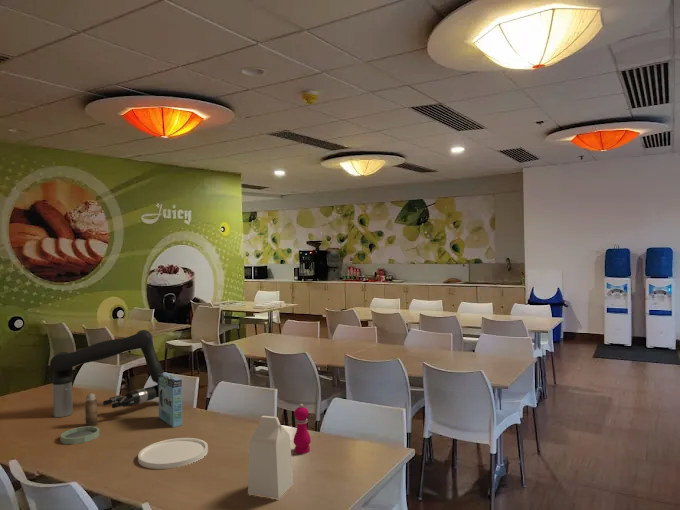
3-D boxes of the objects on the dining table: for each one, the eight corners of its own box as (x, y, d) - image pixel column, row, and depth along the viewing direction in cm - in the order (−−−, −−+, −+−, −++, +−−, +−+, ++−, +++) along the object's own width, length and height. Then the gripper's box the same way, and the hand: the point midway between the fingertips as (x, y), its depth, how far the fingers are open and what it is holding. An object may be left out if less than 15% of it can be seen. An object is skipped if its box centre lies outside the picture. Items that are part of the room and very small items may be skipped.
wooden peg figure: (83, 425, 255) (82, 393, 255) (94, 422, 259) (93, 391, 259) (89, 427, 252) (88, 395, 251) (99, 424, 256) (98, 392, 256)
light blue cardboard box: (158, 418, 263) (157, 374, 263) (168, 416, 266) (167, 372, 266) (173, 427, 248) (171, 380, 248) (183, 425, 251) (182, 379, 251)
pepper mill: (313, 448, 217) (312, 401, 217) (307, 455, 211) (305, 406, 210) (298, 446, 220) (296, 400, 220) (291, 453, 213) (289, 405, 213)
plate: (137, 450, 222) (136, 444, 222) (202, 439, 233) (202, 433, 233) (139, 475, 196) (139, 469, 196) (213, 461, 207) (212, 455, 207)
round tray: (54, 439, 236) (54, 434, 236) (88, 429, 249) (88, 424, 249) (71, 446, 227) (71, 441, 227) (105, 435, 239) (105, 430, 239)
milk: (247, 495, 177) (245, 420, 177) (264, 480, 188) (262, 410, 188) (278, 500, 173) (276, 424, 173) (293, 485, 184) (291, 413, 183)
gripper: (129, 388, 279) (100, 395, 266) (144, 392, 271) (115, 399, 258) (129, 401, 279) (100, 409, 266) (144, 406, 271) (115, 414, 258)
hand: (107, 404), depth 262 cm, fingers open, 8 cm apart
